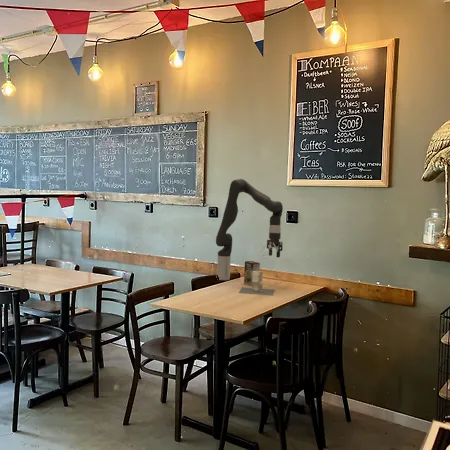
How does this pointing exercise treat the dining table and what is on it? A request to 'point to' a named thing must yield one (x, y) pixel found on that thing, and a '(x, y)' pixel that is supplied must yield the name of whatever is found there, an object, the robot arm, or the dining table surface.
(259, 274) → the block
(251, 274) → the coffee box
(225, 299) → the dining table surface
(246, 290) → the mat
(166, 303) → the dining table surface
